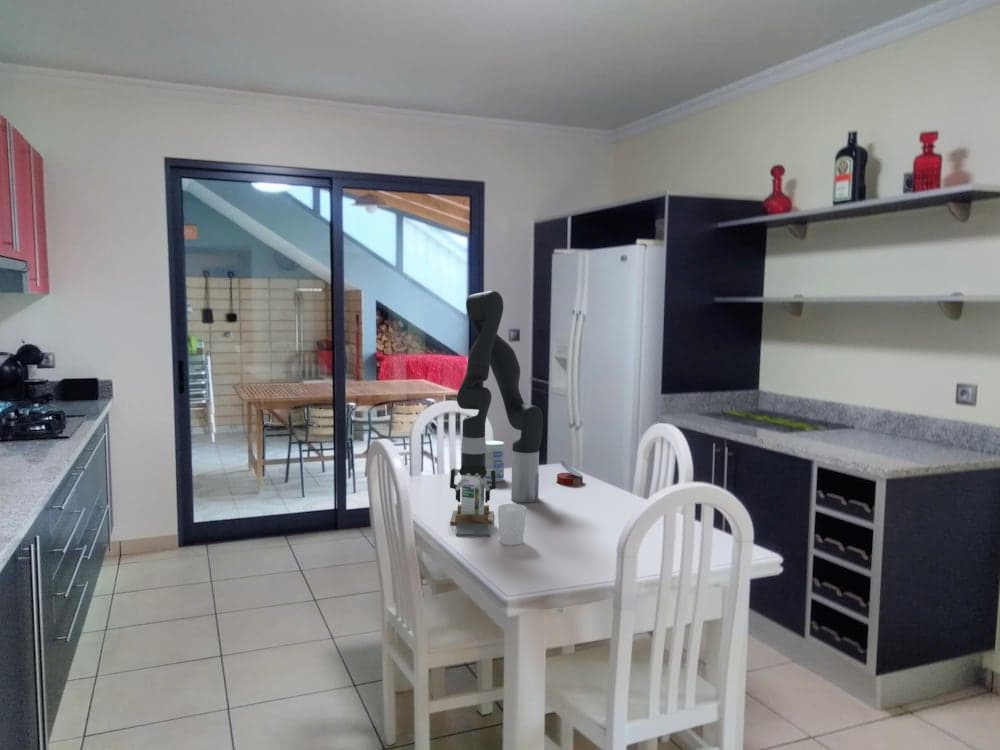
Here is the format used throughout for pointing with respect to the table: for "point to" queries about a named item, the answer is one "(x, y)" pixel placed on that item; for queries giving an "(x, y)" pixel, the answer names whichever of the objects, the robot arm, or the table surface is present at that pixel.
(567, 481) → the canned food
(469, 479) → the syrup box
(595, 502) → the table surface
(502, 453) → the supplement tub
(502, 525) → the white cup
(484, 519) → the wooden picture frame
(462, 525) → the thin grey plate
